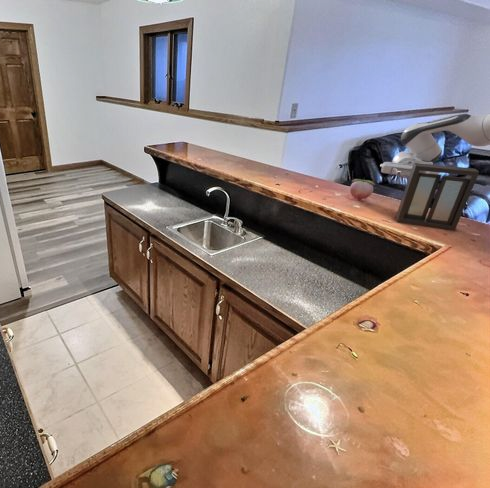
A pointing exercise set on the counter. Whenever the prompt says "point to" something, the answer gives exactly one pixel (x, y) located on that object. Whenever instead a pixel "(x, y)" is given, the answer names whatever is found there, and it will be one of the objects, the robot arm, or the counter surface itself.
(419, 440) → the counter surface
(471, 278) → the counter surface
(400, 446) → the counter surface
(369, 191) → the decorative fruit
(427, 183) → the sash
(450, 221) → the window frame
